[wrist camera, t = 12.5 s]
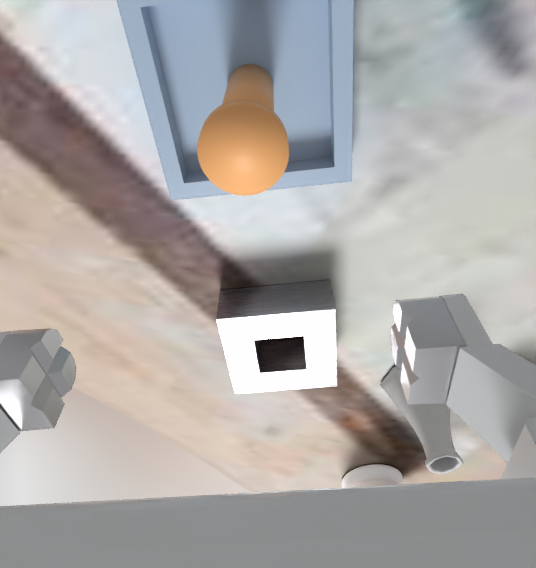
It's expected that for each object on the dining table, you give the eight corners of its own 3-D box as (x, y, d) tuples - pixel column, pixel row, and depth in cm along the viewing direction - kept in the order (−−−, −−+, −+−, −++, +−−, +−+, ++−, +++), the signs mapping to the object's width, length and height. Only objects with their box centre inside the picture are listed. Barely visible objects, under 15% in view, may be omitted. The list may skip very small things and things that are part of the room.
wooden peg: (279, 49, 27) (284, 100, 18) (285, 117, 30) (292, 190, 21) (212, 57, 27) (188, 111, 19) (224, 124, 30) (207, 199, 21)
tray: (346, -50, 25) (354, -50, 23) (346, 167, 33) (351, 181, 31) (123, -19, 25) (112, -16, 24) (176, 185, 33) (171, 200, 32)
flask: (367, 383, 48) (388, 469, 40) (419, 347, 45) (452, 433, 37) (411, 407, 51) (438, 492, 43) (462, 375, 48) (502, 460, 40)
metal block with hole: (329, 279, 39) (335, 309, 36) (331, 355, 45) (337, 386, 42) (220, 289, 40) (216, 319, 37) (236, 363, 46) (235, 394, 43)
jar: (370, 503, 66) (393, 626, 54) (318, 482, 62) (331, 610, 50) (425, 474, 60) (464, 603, 49) (372, 449, 56) (401, 583, 45)
